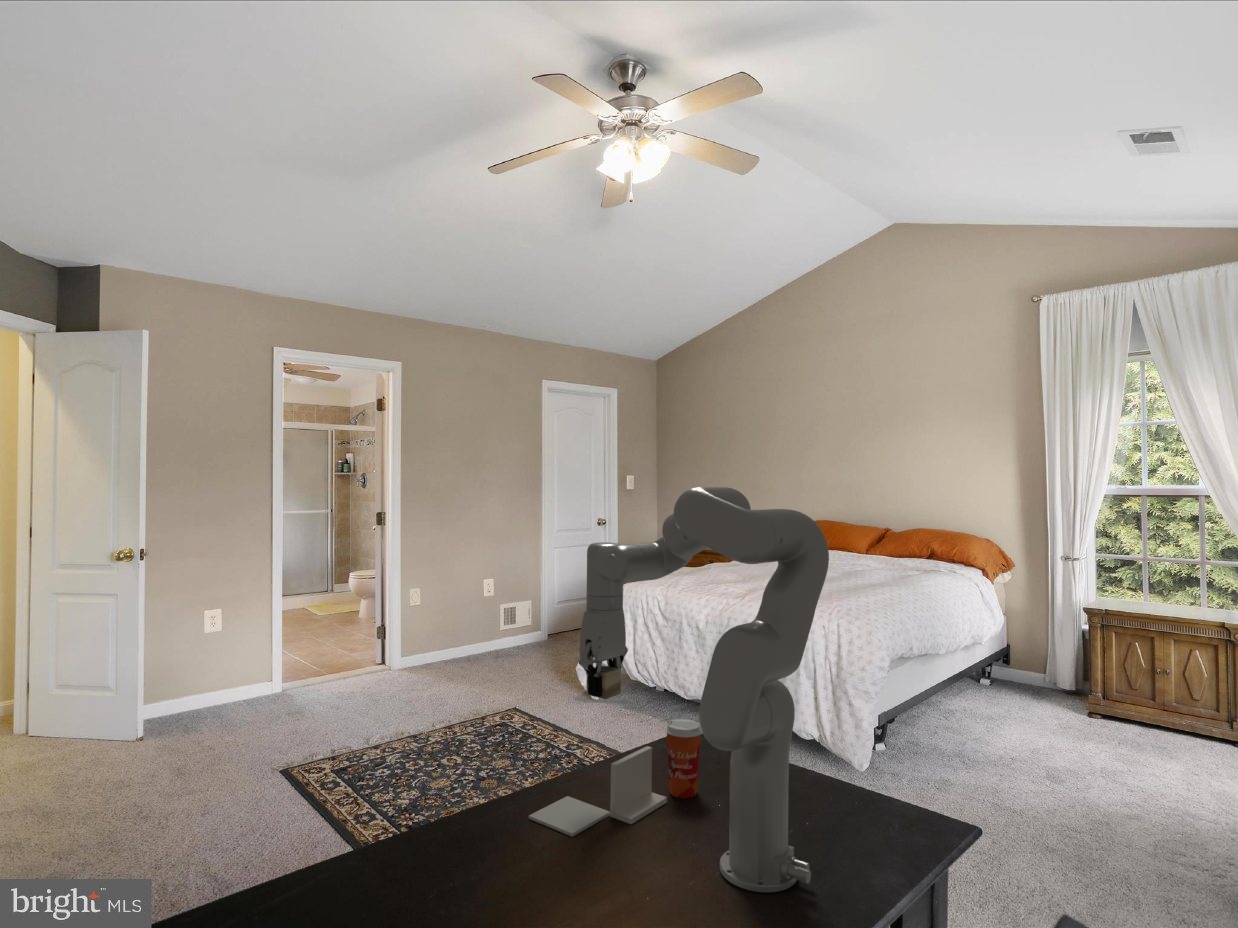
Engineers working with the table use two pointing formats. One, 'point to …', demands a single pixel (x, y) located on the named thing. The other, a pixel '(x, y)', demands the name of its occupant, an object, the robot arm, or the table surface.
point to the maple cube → (609, 682)
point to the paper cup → (683, 756)
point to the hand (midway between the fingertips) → (603, 691)
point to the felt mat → (569, 816)
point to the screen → (633, 787)
